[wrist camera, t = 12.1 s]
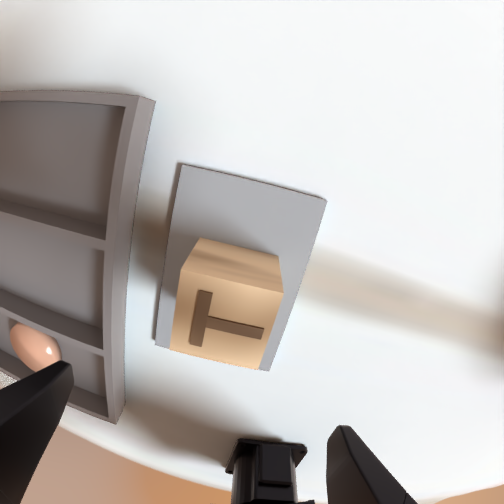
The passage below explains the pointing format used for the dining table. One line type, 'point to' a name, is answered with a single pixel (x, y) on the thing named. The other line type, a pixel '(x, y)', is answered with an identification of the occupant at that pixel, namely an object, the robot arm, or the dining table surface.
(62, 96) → the organizer tray
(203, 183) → the mat
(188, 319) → the letter cube
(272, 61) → the dining table surface
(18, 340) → the peach egg shape
